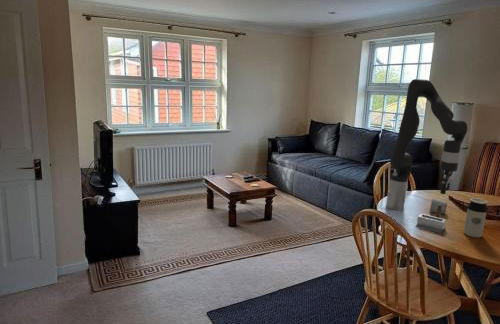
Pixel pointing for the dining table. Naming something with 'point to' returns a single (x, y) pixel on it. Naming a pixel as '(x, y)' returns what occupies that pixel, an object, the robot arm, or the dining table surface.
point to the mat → (428, 228)
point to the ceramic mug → (435, 205)
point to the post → (439, 211)
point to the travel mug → (475, 217)
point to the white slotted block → (431, 222)
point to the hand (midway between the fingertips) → (444, 191)
